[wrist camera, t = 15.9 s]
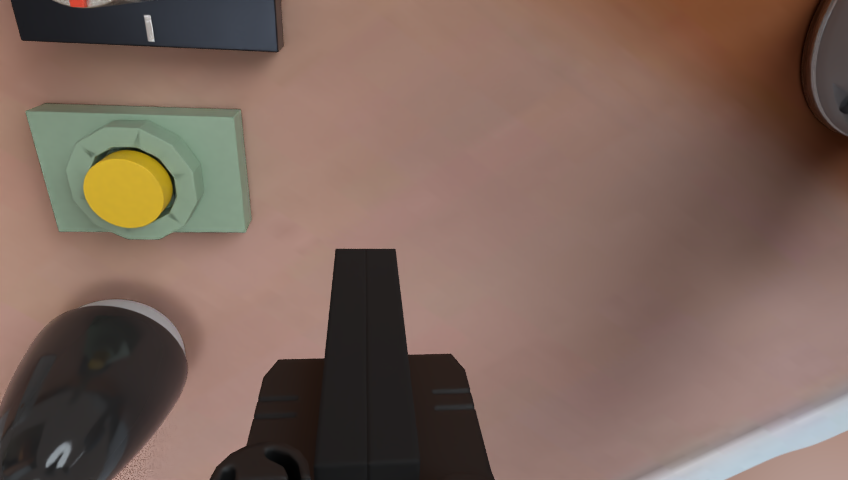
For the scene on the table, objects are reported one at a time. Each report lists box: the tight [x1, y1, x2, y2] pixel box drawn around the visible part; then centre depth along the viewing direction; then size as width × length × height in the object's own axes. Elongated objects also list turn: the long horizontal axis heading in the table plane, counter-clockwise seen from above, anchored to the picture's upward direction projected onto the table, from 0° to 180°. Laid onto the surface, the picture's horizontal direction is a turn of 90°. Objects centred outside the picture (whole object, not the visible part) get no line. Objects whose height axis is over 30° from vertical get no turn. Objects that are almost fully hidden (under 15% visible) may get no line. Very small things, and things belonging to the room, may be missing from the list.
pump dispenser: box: [0, 299, 188, 480], centre depth 35 cm, size 10×10×15 cm
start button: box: [83, 150, 173, 228], centre depth 32 cm, size 4×4×2 cm
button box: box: [26, 103, 251, 240], centre depth 34 cm, size 12×8×4 cm, turn 87°
